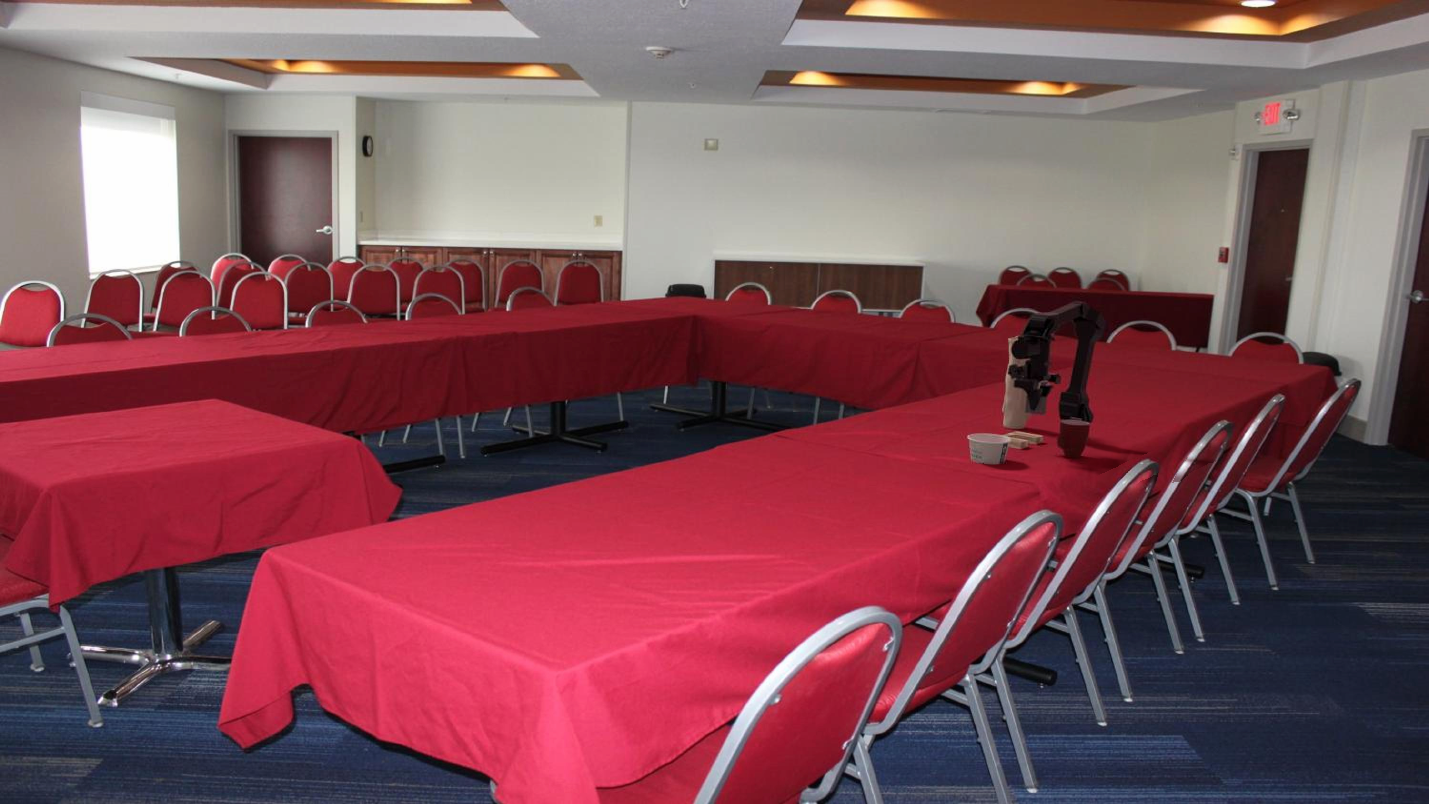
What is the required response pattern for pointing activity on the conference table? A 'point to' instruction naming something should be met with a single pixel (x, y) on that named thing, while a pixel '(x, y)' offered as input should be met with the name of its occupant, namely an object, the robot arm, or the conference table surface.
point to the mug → (1073, 437)
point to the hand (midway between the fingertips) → (1035, 409)
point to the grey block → (1039, 408)
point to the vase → (1014, 397)
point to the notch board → (1023, 439)
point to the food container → (988, 448)
